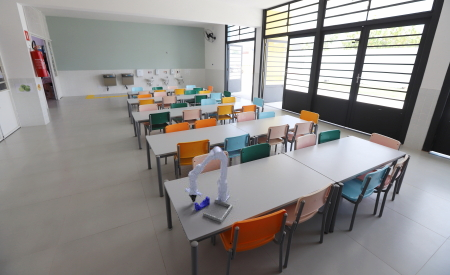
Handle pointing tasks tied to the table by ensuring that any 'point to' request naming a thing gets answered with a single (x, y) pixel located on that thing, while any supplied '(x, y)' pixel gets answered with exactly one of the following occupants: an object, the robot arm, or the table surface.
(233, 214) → the table surface
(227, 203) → the bracket
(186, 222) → the table surface
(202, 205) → the cable clip
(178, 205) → the table surface
